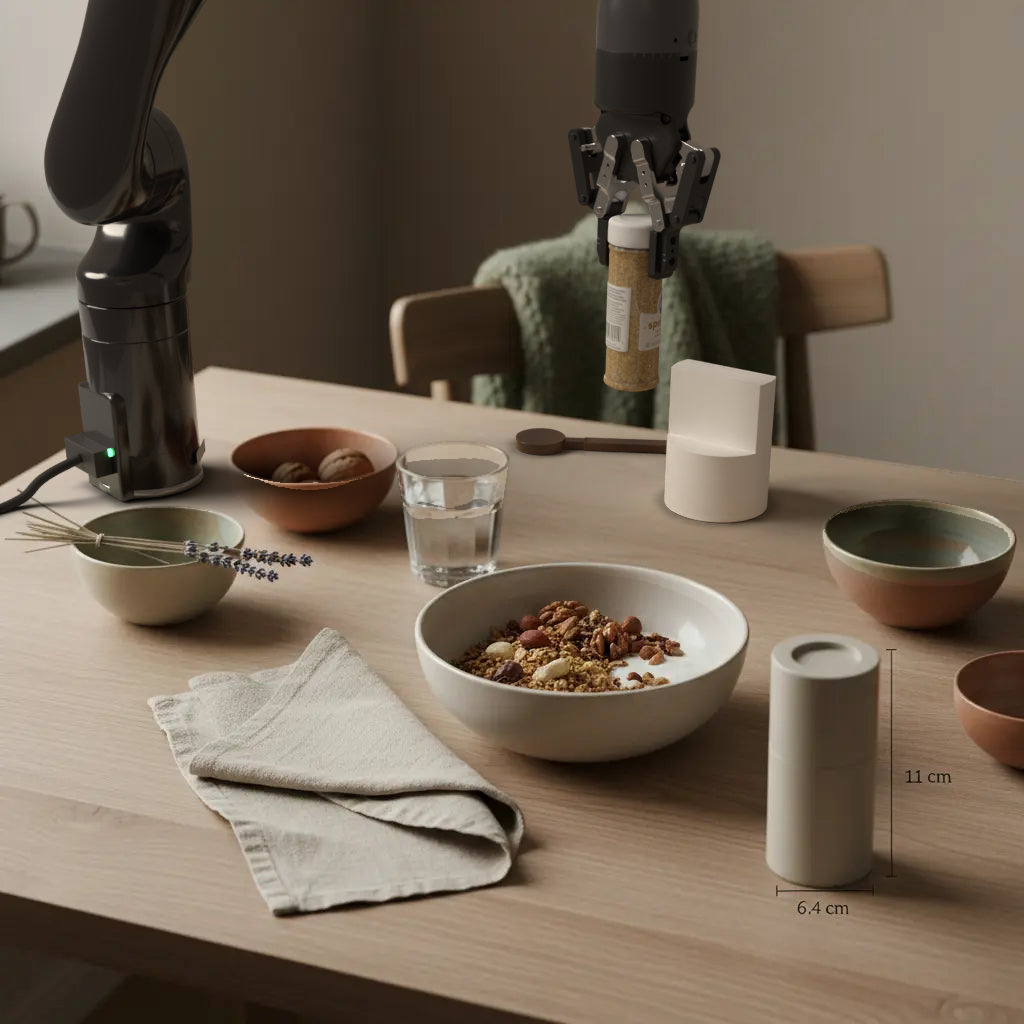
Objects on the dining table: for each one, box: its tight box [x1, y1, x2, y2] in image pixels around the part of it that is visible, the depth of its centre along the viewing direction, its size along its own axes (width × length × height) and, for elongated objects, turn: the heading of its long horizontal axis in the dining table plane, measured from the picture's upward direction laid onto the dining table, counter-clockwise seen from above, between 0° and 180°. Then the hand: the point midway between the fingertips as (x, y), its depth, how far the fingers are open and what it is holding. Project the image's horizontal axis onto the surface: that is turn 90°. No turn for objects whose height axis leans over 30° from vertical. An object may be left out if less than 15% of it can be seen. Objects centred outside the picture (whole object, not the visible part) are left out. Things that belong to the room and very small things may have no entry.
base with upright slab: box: [663, 358, 777, 524], centre depth 131 cm, size 9×9×12 cm
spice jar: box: [603, 213, 664, 393], centre depth 119 cm, size 5×5×13 cm
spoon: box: [515, 427, 667, 456], centre depth 145 cm, size 18×5×1 cm, turn 85°
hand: (636, 269), depth 118 cm, fingers closed on spice jar, 4 cm apart
